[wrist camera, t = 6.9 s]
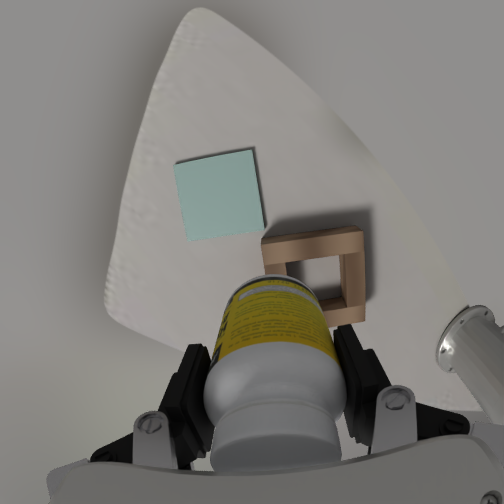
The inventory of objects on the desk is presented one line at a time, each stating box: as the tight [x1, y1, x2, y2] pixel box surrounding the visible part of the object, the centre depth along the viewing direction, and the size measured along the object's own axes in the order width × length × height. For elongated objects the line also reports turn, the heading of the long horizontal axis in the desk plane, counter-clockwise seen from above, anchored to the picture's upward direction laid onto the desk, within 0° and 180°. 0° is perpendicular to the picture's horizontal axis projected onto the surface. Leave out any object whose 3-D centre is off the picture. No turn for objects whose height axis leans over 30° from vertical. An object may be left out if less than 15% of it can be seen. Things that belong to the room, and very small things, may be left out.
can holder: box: [261, 226, 365, 327], centre depth 32 cm, size 11×11×3 cm
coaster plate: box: [173, 150, 265, 241], centre depth 31 cm, size 9×9×1 cm
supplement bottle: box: [203, 274, 347, 472], centre depth 11 cm, size 5×5×10 cm
